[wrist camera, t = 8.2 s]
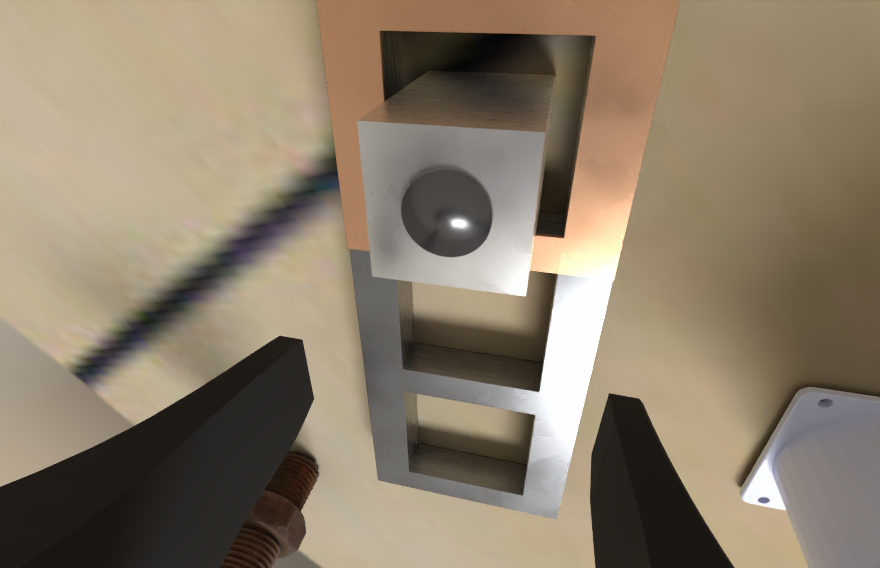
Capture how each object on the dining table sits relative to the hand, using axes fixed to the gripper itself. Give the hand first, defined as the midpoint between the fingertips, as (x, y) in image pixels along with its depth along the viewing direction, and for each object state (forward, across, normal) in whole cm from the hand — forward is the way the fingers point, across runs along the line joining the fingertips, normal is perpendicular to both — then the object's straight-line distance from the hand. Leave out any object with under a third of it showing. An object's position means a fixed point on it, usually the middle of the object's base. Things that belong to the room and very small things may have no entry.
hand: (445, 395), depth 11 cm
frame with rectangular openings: (+10, +1, +4) cm, 11 cm away
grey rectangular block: (+10, +1, -3) cm, 11 cm away
